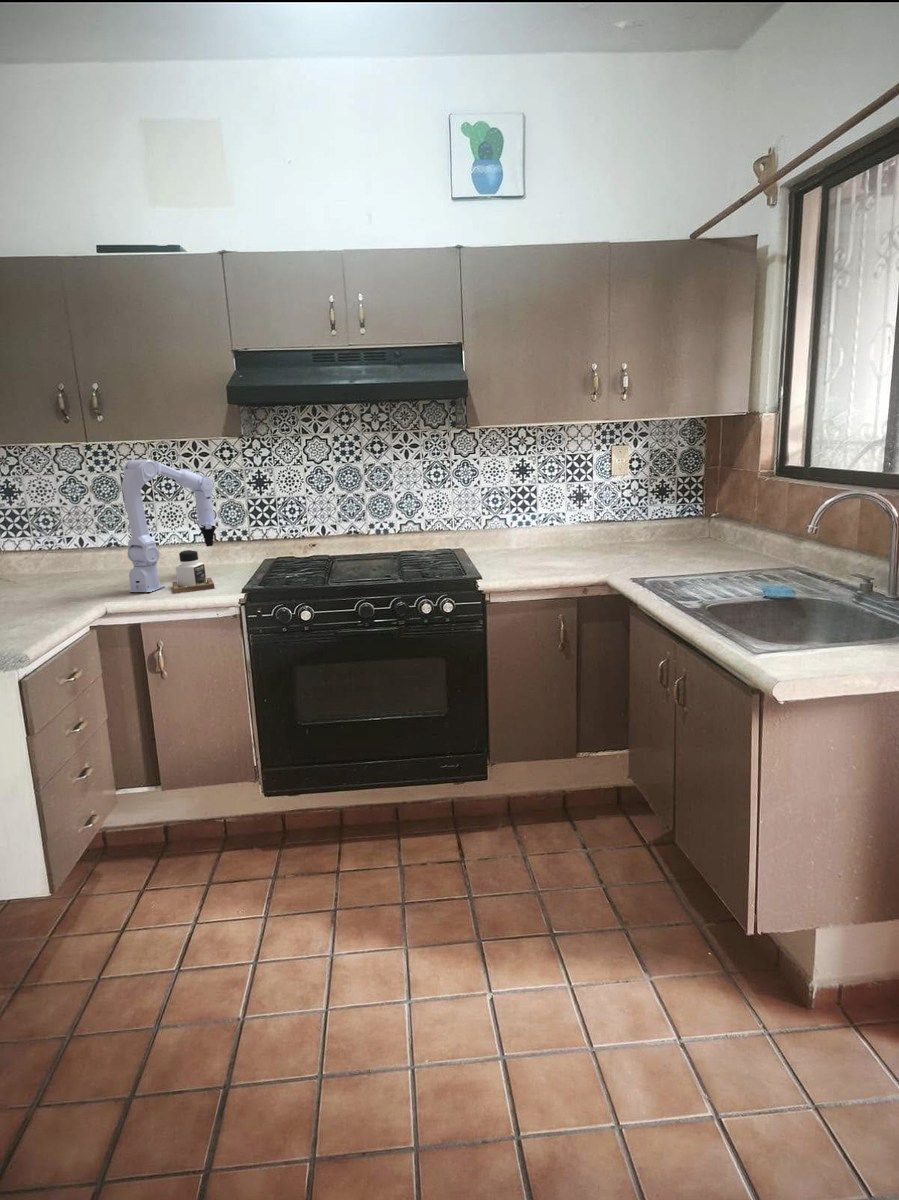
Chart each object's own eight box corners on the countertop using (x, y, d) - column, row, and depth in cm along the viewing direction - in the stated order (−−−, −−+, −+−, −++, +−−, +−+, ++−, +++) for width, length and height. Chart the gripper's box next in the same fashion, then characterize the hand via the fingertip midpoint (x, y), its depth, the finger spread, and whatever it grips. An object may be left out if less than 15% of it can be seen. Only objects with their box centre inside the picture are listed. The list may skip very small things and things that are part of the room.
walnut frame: (172, 586, 269) (172, 582, 268) (211, 581, 273) (210, 577, 273) (174, 593, 257) (173, 589, 257) (214, 588, 262) (214, 584, 262)
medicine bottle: (196, 586, 266) (192, 552, 263) (177, 586, 268) (173, 552, 265) (206, 582, 273) (202, 548, 270) (188, 582, 274) (184, 549, 271)
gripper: (218, 510, 277) (222, 547, 280) (214, 506, 290) (218, 542, 293) (197, 512, 274) (202, 549, 277) (194, 508, 287) (199, 544, 291)
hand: (209, 546), depth 285 cm, fingers closed
